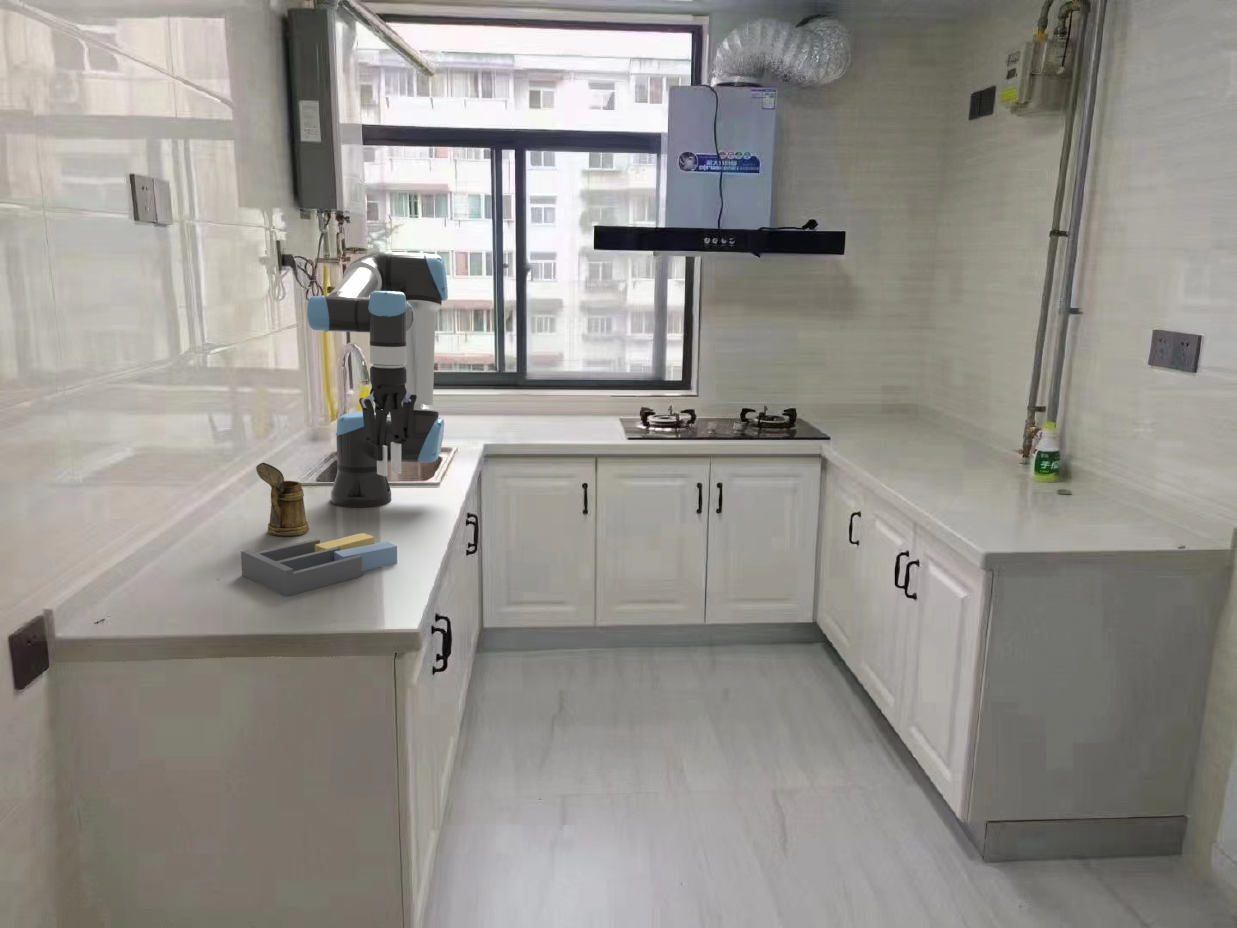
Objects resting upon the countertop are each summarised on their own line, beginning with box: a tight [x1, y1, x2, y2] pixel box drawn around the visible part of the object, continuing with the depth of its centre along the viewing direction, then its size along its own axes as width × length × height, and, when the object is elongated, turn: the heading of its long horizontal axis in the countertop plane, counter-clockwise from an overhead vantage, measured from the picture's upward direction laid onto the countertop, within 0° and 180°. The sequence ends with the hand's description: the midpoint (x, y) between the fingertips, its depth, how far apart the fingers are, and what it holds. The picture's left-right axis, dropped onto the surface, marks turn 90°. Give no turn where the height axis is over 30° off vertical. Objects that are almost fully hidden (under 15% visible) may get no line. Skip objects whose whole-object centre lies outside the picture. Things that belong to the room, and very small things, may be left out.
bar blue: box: [334, 541, 398, 571], centre depth 185 cm, size 12×4×4 cm, turn 133°
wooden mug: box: [255, 462, 310, 538], centre depth 202 cm, size 9×14×18 cm, turn 168°
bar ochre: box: [315, 532, 375, 552], centre depth 190 cm, size 12×4×4 cm, turn 143°
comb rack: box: [240, 538, 363, 597], centre depth 178 cm, size 17×16×5 cm
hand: (389, 473), depth 195 cm, fingers open, 3 cm apart
